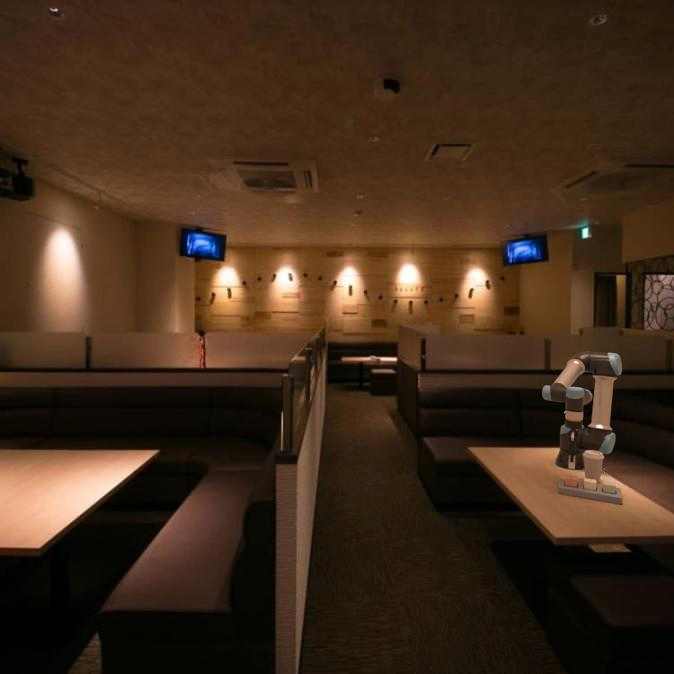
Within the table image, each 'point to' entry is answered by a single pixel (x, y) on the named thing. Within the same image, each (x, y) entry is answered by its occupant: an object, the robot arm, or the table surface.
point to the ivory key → (589, 484)
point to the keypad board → (590, 492)
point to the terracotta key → (571, 481)
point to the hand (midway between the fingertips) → (571, 468)
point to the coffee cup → (593, 464)
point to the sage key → (609, 487)
